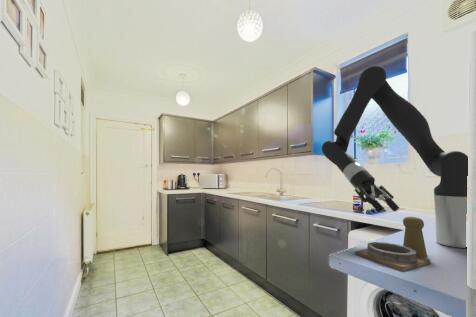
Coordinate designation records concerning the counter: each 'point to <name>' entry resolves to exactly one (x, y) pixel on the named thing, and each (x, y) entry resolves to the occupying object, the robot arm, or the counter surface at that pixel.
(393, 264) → the spice stand
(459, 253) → the counter surface
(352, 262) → the counter surface
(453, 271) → the counter surface
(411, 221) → the brown tapered knobbed cylinder
